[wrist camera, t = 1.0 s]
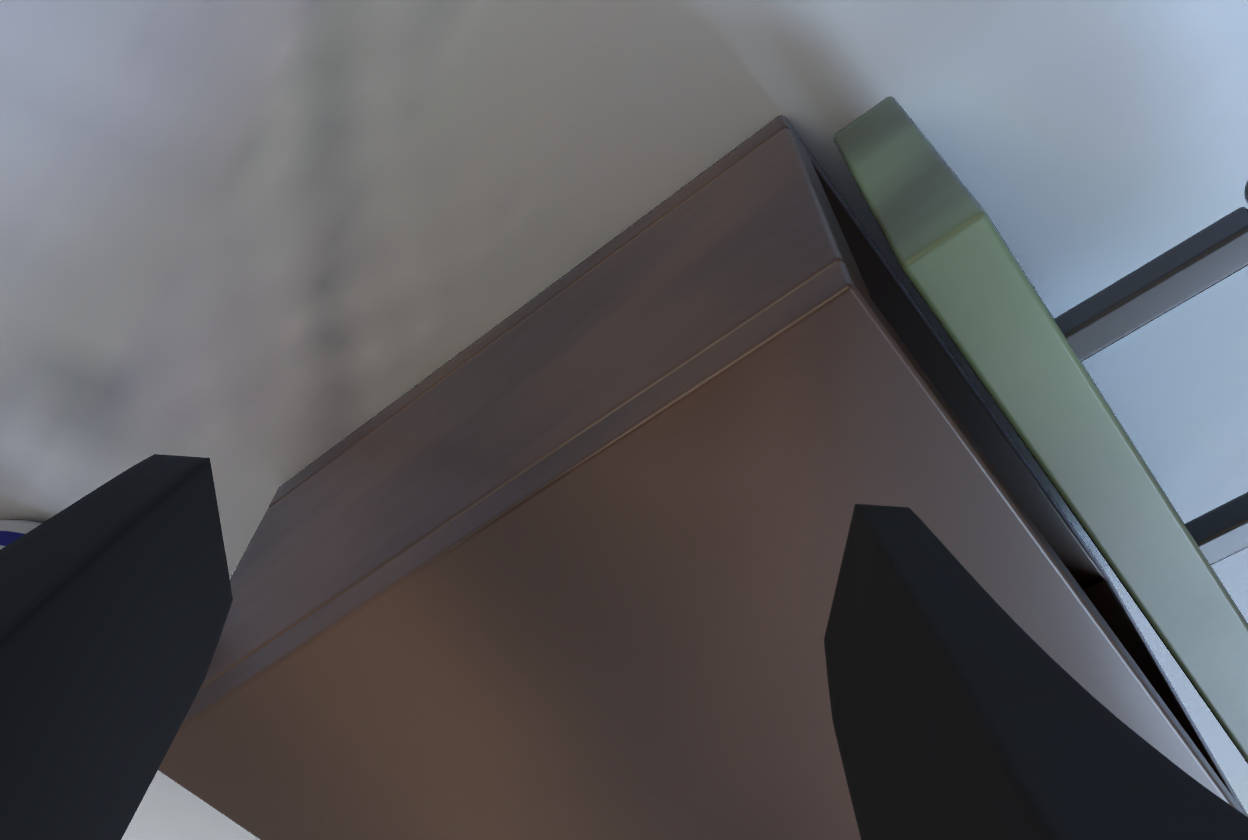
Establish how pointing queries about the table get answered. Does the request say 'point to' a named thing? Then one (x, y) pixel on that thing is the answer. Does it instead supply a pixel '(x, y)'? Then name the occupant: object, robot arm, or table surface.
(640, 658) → the cabinet
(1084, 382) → the drawer
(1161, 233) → the table surface
